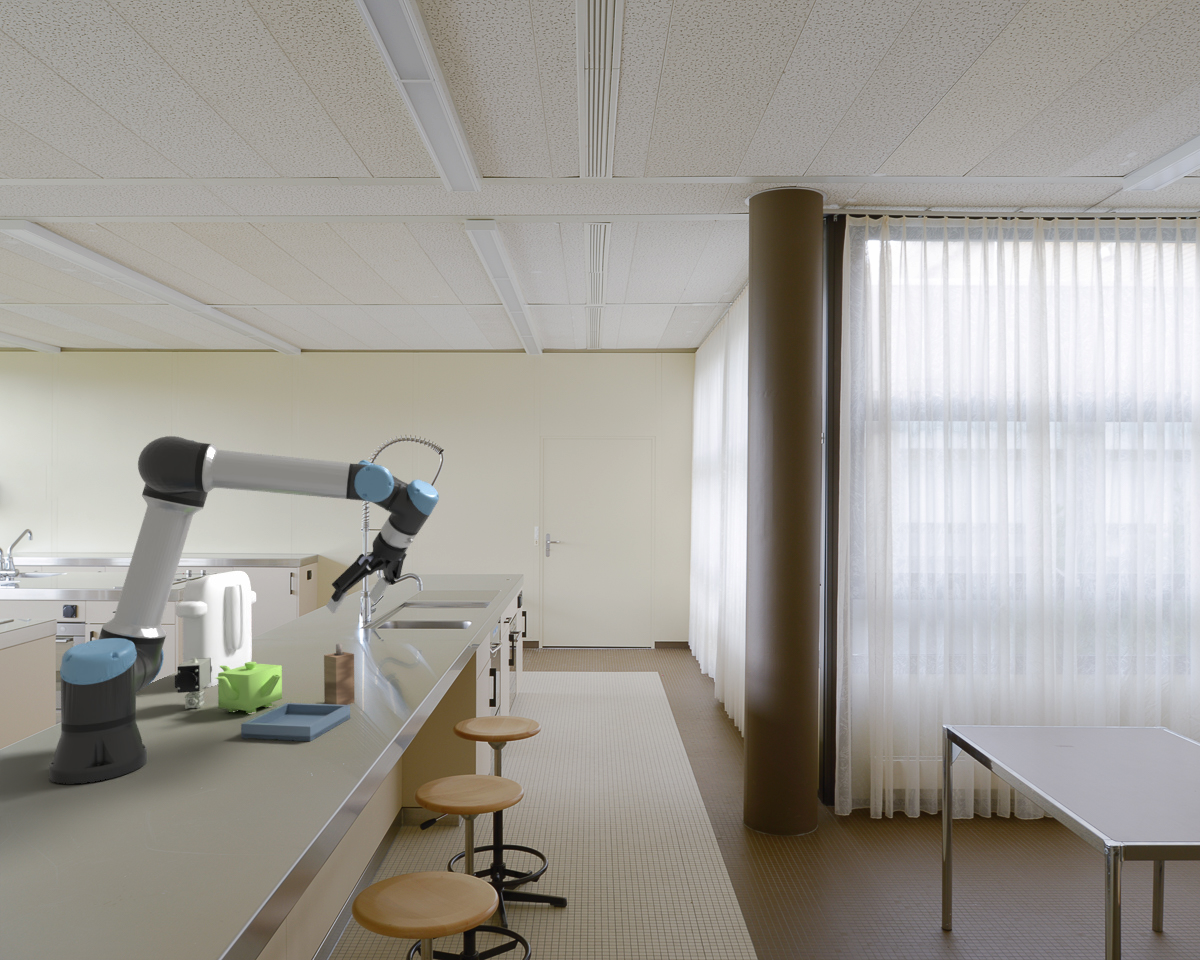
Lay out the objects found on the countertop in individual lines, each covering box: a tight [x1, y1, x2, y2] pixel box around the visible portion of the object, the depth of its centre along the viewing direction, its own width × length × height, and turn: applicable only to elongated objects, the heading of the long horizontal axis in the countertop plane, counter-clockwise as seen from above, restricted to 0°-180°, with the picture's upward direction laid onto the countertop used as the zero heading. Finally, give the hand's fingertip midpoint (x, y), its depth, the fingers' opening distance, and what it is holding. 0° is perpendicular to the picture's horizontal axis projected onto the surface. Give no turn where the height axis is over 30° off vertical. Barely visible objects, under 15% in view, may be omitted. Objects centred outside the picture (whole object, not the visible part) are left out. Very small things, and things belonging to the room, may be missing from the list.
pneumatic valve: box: [174, 657, 212, 710], centre depth 180 cm, size 6×12×12 cm, turn 11°
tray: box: [240, 702, 351, 742], centre depth 162 cm, size 16×16×3 cm
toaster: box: [175, 570, 257, 689], centre depth 208 cm, size 27×11×30 cm, turn 171°
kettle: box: [215, 661, 283, 714], centre depth 177 cm, size 15×14×11 cm
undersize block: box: [323, 643, 356, 705], centre depth 181 cm, size 5×5×14 cm
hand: (352, 604), depth 178 cm, fingers open, 13 cm apart
